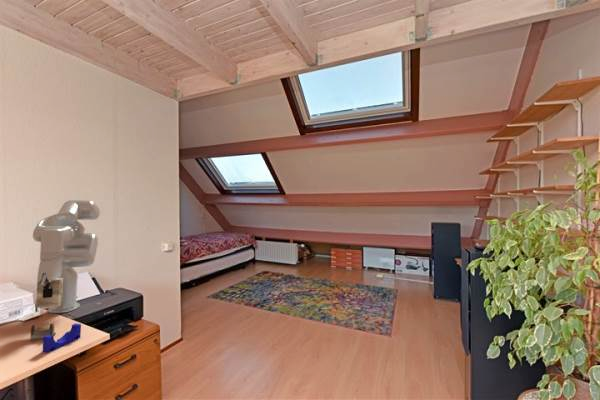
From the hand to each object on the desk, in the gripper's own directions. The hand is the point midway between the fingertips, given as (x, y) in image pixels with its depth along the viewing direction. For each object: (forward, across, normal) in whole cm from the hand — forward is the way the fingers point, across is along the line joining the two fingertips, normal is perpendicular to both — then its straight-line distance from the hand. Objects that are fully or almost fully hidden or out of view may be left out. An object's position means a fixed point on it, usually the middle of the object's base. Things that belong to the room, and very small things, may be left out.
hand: (49, 295), depth 121 cm
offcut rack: (+15, +9, +2) cm, 18 cm away
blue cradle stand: (+15, +16, +11) cm, 25 cm away
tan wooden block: (+5, 0, 0) cm, 5 cm away
